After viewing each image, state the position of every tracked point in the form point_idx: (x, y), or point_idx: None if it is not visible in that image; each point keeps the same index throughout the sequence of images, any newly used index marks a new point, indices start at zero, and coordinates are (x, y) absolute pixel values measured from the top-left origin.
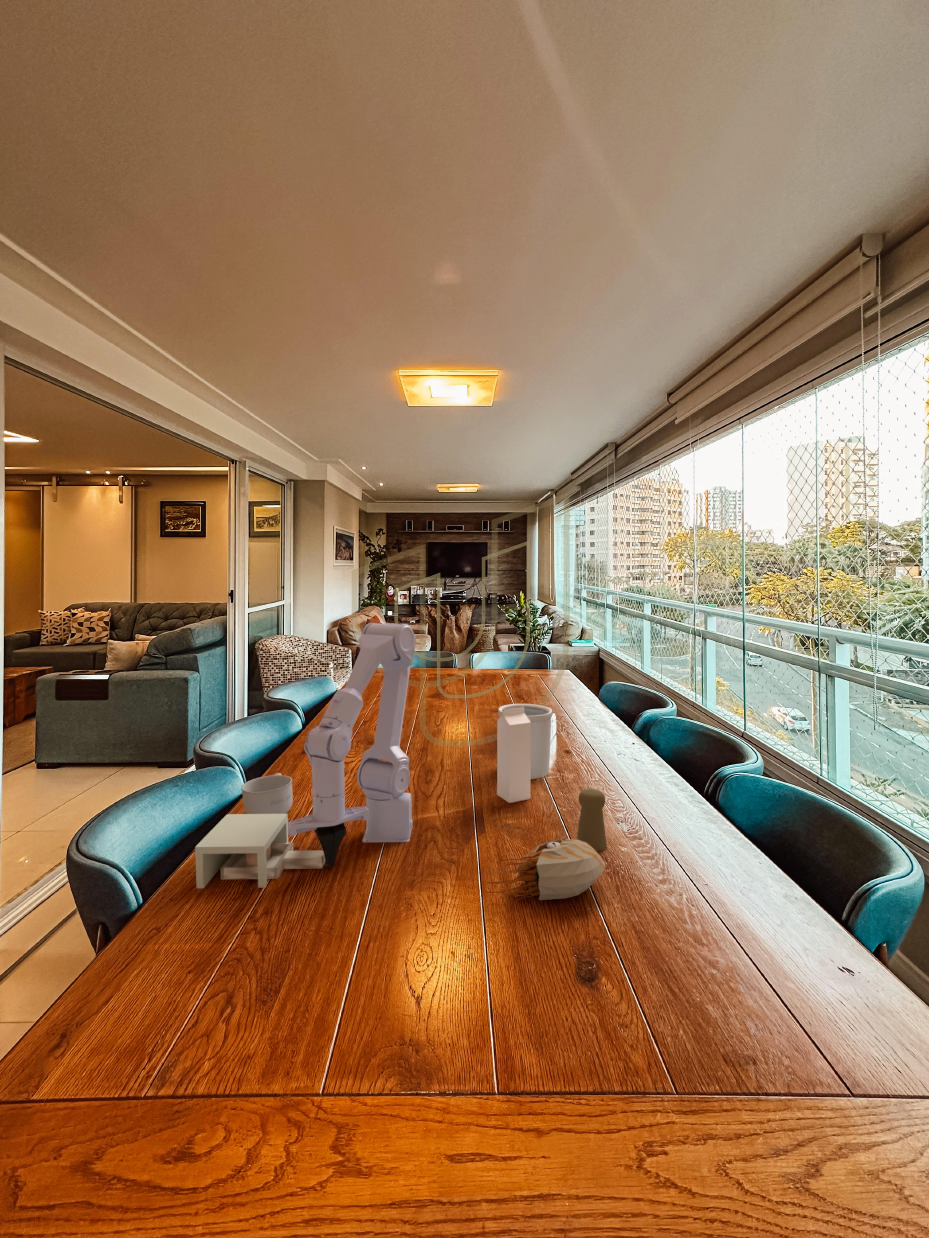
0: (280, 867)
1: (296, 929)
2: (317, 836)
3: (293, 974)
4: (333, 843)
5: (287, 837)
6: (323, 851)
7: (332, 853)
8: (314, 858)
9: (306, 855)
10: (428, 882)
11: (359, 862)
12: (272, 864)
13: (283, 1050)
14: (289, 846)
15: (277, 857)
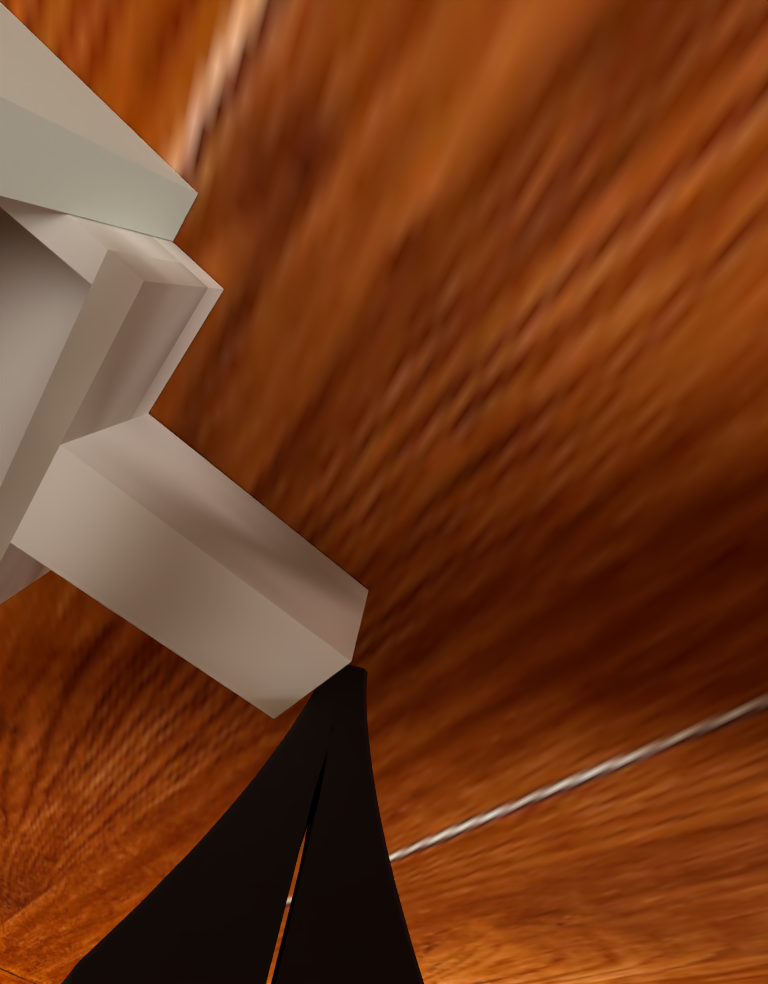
0: (20, 567)
1: (85, 828)
2: (175, 875)
3: (55, 900)
4: (276, 962)
5: (32, 159)
6: (294, 724)
7: (306, 827)
8: (230, 687)
9: (189, 627)
10: (582, 941)
11: (522, 711)
12: (7, 396)
13: (24, 955)
14: (86, 360)
15: (52, 301)
